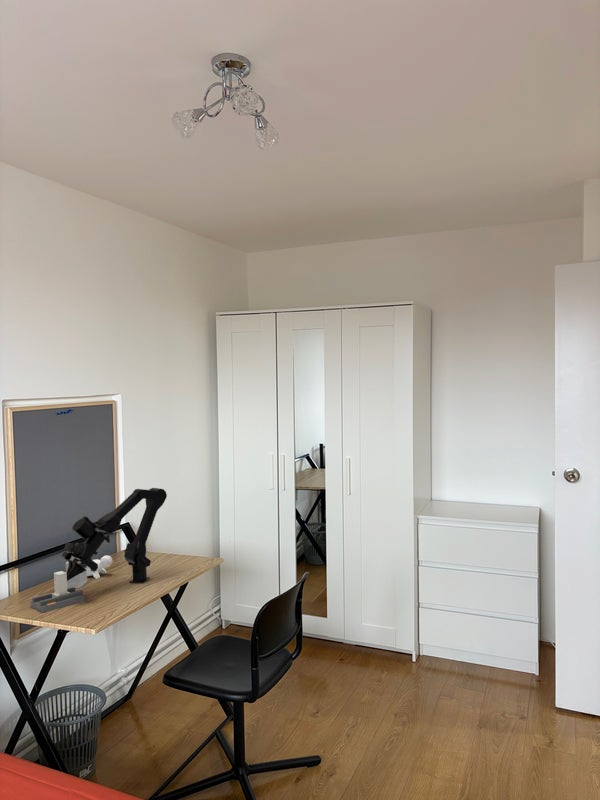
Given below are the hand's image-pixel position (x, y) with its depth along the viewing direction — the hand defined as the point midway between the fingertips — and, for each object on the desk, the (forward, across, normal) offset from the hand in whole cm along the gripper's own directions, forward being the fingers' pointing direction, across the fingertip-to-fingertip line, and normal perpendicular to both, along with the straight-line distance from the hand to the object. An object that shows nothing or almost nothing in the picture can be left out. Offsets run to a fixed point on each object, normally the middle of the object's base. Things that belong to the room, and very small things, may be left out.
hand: (65, 580), depth 229 cm
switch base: (+8, 0, +4) cm, 8 cm away
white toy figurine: (-12, -22, +23) cm, 34 cm away
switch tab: (+5, 0, +3) cm, 6 cm away
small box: (-3, -16, +15) cm, 22 cm away
